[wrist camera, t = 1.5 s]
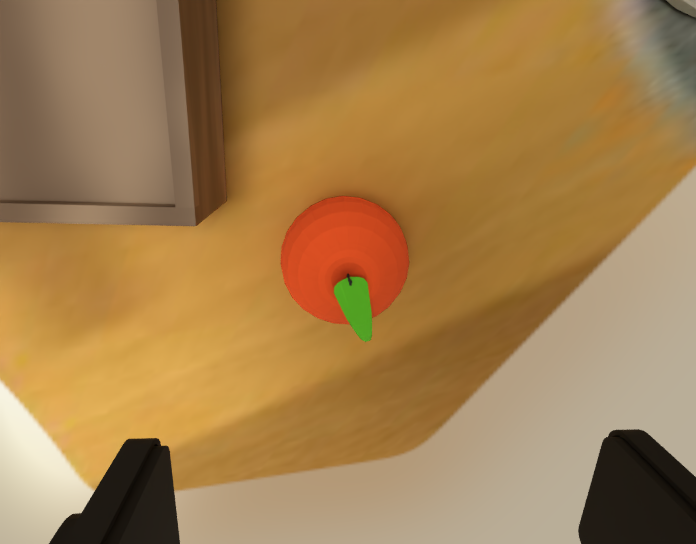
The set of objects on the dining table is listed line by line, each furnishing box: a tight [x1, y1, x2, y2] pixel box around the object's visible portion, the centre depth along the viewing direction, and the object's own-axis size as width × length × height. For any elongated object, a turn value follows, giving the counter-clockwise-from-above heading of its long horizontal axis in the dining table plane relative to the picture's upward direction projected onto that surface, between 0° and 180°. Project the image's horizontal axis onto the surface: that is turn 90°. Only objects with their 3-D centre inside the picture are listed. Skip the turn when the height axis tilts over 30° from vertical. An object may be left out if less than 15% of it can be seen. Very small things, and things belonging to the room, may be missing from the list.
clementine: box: [281, 196, 409, 342], centre depth 23 cm, size 8×7×7 cm
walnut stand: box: [0, 0, 227, 226], centre depth 19 cm, size 14×14×7 cm
